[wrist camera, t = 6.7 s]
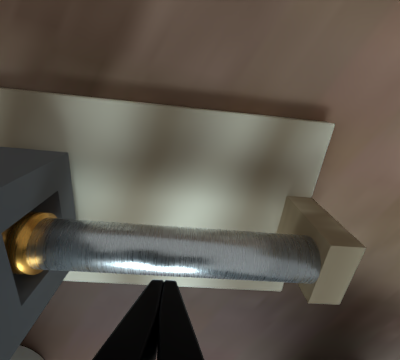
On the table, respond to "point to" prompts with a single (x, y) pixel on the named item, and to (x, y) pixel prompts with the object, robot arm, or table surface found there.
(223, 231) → the rod
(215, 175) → the stand
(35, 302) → the collar
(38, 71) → the table surface
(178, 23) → the table surface
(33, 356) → the coffee cup
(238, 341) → the table surface
